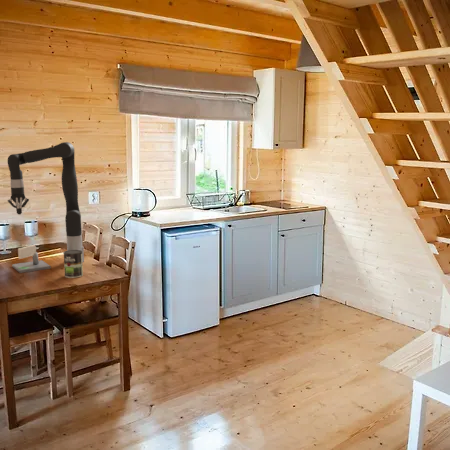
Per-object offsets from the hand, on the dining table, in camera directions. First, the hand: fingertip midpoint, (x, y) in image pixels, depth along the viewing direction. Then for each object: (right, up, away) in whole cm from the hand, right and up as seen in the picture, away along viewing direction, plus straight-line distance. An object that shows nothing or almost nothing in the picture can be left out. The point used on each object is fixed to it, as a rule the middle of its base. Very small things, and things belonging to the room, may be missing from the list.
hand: (19, 214), depth 319 cm
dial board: (+11, -33, -8) cm, 35 cm away
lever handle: (+10, -31, -10) cm, 35 cm away
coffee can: (+42, -36, -26) cm, 61 cm away
